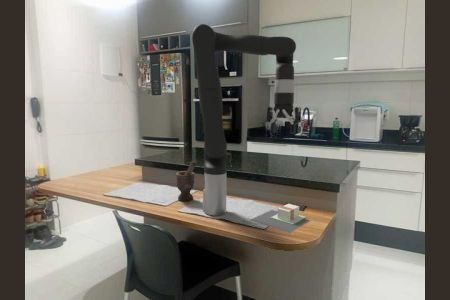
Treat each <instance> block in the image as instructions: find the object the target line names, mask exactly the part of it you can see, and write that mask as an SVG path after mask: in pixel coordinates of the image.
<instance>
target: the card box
mask: <svg viewBox="0 0 450 300" xmlns="http://www.w3.org/2000/svg"><path fill="white" fill-rule="evenodd" d="M283 205H284V204H283ZM283 205H282V206H280V207H278V208H277V211H278V219H282V220H285V221H291V220H293V219H294V218H296V217H298V216H299V215H300V211H299V206H296V205H292V204H287V205H284V206H283Z"/></svg>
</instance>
